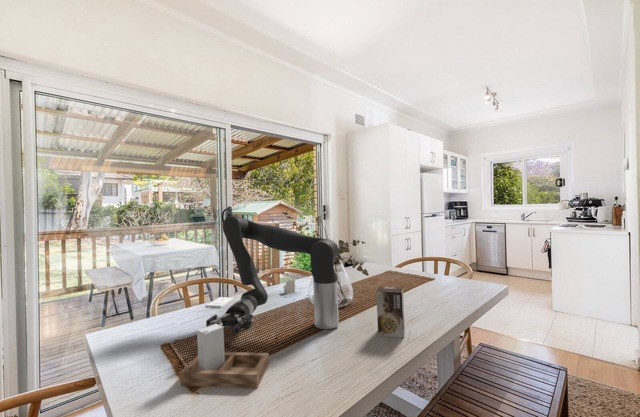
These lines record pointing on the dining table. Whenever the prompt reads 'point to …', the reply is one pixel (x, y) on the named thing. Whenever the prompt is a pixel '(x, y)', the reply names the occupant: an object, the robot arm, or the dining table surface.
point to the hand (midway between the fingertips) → (221, 331)
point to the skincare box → (211, 347)
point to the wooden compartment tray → (228, 371)
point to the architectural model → (289, 287)
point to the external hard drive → (220, 302)
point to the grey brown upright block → (390, 312)
